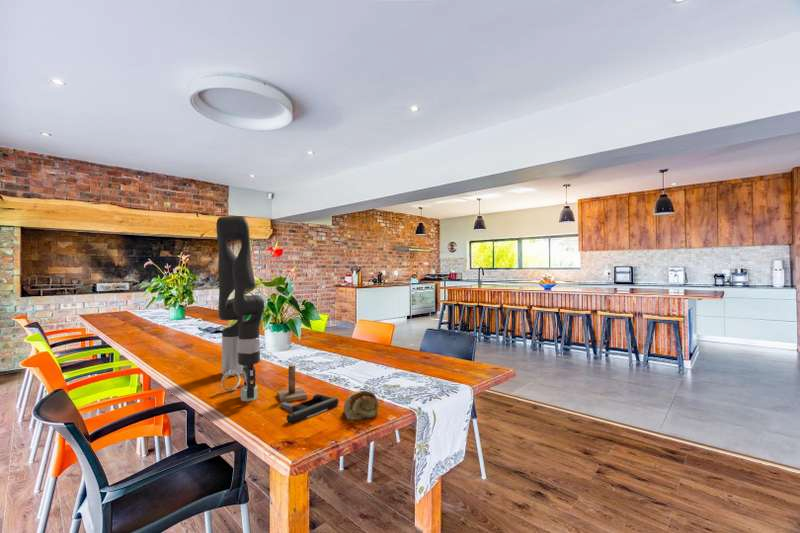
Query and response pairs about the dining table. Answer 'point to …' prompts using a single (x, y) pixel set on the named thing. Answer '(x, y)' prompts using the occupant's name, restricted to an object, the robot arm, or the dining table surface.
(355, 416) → the pastry
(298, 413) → the door handle
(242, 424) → the dining table surface
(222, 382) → the bracelet
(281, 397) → the ring stand
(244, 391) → the napkin ring
